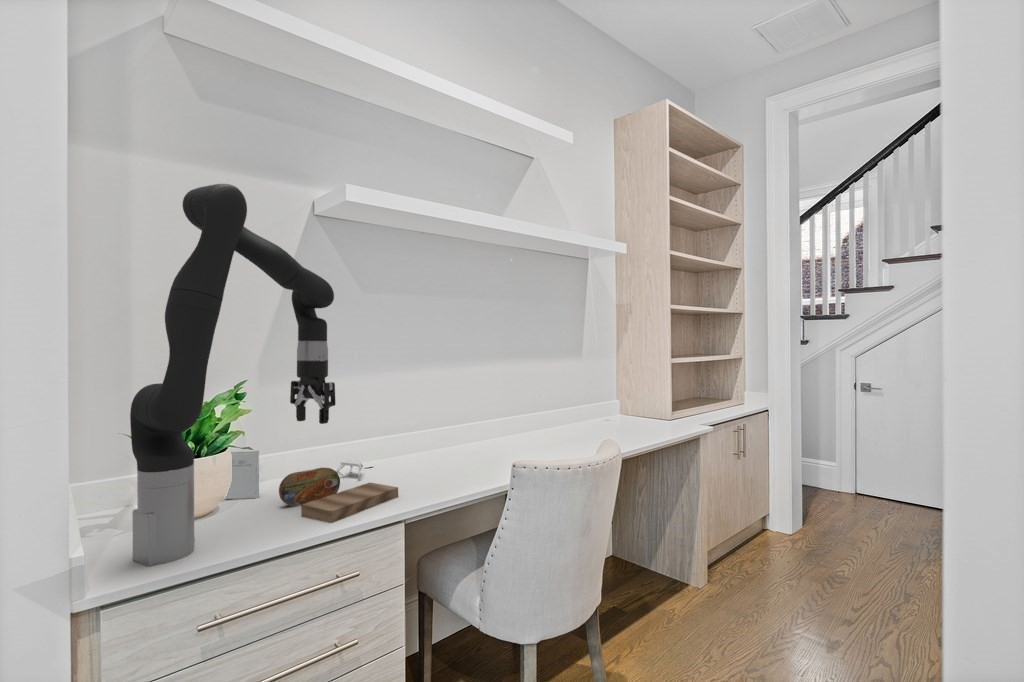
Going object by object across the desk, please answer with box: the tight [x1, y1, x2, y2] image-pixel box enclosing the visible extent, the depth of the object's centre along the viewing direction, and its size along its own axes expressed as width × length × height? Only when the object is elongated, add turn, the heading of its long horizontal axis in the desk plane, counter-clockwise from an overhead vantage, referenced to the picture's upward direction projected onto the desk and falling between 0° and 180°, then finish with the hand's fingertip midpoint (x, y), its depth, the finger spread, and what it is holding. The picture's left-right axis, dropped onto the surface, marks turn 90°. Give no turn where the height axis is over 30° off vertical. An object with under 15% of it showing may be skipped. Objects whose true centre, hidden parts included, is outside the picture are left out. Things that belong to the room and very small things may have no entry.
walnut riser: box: [300, 482, 399, 524], centre depth 131 cm, size 22×10×3 cm, turn 150°
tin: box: [278, 467, 341, 508], centre depth 135 cm, size 15×3×8 cm, turn 132°
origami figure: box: [334, 457, 364, 481], centre depth 159 cm, size 12×8×5 cm
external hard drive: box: [225, 449, 260, 500], centre depth 139 cm, size 2×8×12 cm, turn 96°
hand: (312, 422), depth 135 cm, fingers open, 8 cm apart
